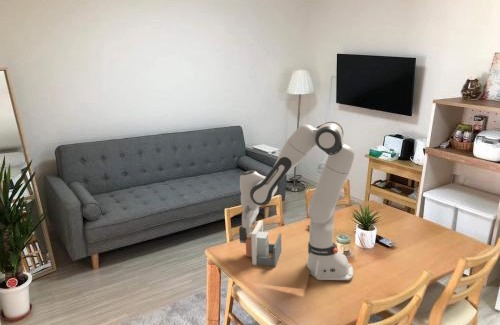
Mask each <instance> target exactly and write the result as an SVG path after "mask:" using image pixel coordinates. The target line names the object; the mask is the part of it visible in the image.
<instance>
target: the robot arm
mask: <svg viewBox="0 0 500 325" xmlns="http://www.w3.org/2000/svg"><path fill="white" fill-rule="evenodd" d="M343 137H344V130H343V127H342V126H341V124H339V123H338V122H336V121H335V122H334V121H327V122H325V123H322V124H320V125H318V126H316V127H315V126H313V125H310V124H306V123H305V124H304V123H303V124H302V125H300V126H298V127H297V129H296V130H295V131H294V132H292V134H291V135H290V137H288V138H287V141H285V143H284V145H283V147H282V149H281V151H280V153H279V155H278V157H277V159H276V161H275V164H274V165H273V167H272V169H271V170H270V171H269V172H268V174H267V175H266V176H265V175H263V174H260V173H259V172H257V171H256V170H253V169H250V170H246V171H244V172H243V173H241V174H240V176H239V177H240V178H239V191H240V207H241V208H242V209H243V211H242V214H241V226H242V227H243V228H246V230H247V233H251V232H252V229H251V226H256V225H257V224H256V223H257V221H256V220H257V216H258V214H259V213H260V207H261V206H262V207H264V206H266V205H268V204H270V202H271V200H272V198H273V197H274V195H275V194H276V193H277V191H278V184H279V183H280V182H281V181H282V179H283V178H284V177H285V176H286V175H287V174H288V173H289V172H290V171H292V169H294V168H295V167H296V166H297V165H299V164H300V163H301V162H302V161H303V160H304V159H305V158H306V157H307V156H308V154H309V153H310V152H311V150H312V149H313V148H314V147H316V146H317V147H318V148H319V149H320V150H322V151H323V152H324V153H325V154H327V155H328V156H327V159H326V161H325V163H324V164H325V165H324V167H323V168H322V171H321V174H320V176H319V179H318V182H317V183H316V186H315V189H314V192H313V194H312V196H311V199H310V202H309V204H308V207H307V213H308V218H309V219H310V220H309V227H308V228H309V232H308V234H309V239H308V240H309V241H308V242H307V244H308V245H307V253H308V257H307V262H306V267H307V268H308V270H309V275H311V276H312V277H314V279H316V280H317V281H350V280H351V279H352V278H353V276H354V267H353V266H352V264H351V263H349V261H348V258H347V256H346V255H345V254H343V253H342V252H340V251H339V249H338V244H337V242H335V243H334V226H335V225H334V223H335V222H334V221H335V209H336V205H337V203H338V201H339V198H340V196H341V194H342V193H341V192H342V190H343V188H344V185H345V183H346V181H347V179H348V176H349V174H350V171H351V169H352V167H353V166H352V165H353V163H354V158H355V150H354V149H353V147H351V146H350V145H347V144H345V143H344V141H343ZM333 225H334V226H333Z"/></svg>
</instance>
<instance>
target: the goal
mask: <svg viewBox="0 0 500 325" xmlns="http://www.w3.org/2000/svg"><path fill="white" fill-rule="evenodd" d="M256 223H257V224H255V227H254V229H253V231H251V232H252V257H251V260H252V265H254V266H257V265H258V266H268V267H273V268H276V267H277V264H278V261H279V259H280V256H281V254H282V233H278V236H277V238H276V240H275V243H269V252H270V253H271V252H273V253H272V255H273V256H272V257H269V256H268V257H261V256H257V234H258V232H264V220H258V221H257V222H256Z"/></svg>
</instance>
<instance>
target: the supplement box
mask: <svg viewBox="0 0 500 325" xmlns="http://www.w3.org/2000/svg"><path fill="white" fill-rule="evenodd" d="M269 244H270V243H269V232H268V231H263V232H258V234H257V256H261V257H269V255H270V253H269V252H270V251H269ZM251 246H252V237H251Z"/></svg>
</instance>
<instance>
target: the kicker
mask: <svg viewBox="0 0 500 325" xmlns="http://www.w3.org/2000/svg"><path fill="white" fill-rule="evenodd" d="M238 231H239V232H238V233H239V234H238V235H239V243H240V244H245V253H246V255H245V256H246V257H248V258H249V257H250V258H252V246H251V237H252V232H253V231H251V233H247V230H246V228H243V227H242V225H241V226H240V227H239V228H238Z"/></svg>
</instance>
